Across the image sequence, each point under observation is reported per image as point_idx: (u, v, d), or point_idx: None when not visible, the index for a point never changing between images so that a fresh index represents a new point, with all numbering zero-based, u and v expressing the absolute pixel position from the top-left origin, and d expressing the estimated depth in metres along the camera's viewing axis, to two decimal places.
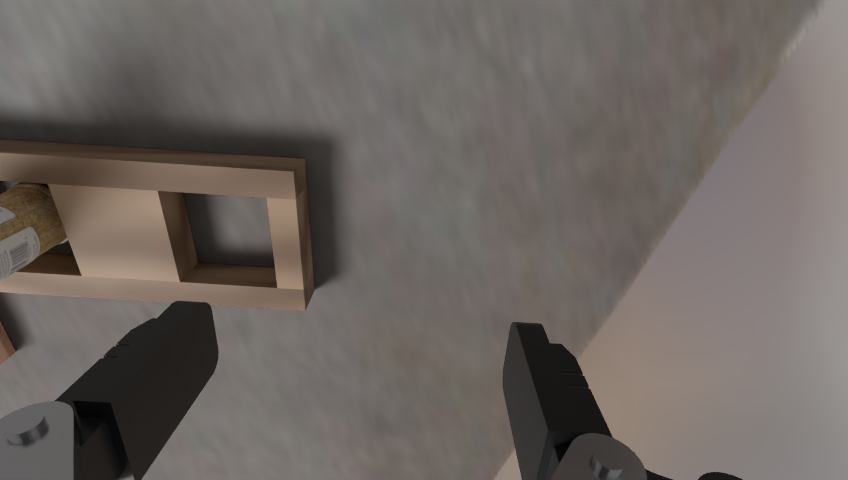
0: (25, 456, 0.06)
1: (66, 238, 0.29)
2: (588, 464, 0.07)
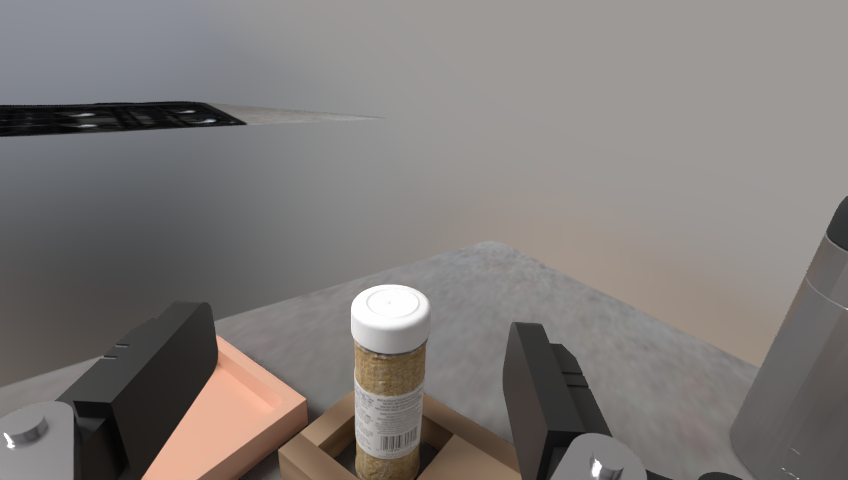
0: (24, 457, 0.06)
1: None
2: (588, 464, 0.07)
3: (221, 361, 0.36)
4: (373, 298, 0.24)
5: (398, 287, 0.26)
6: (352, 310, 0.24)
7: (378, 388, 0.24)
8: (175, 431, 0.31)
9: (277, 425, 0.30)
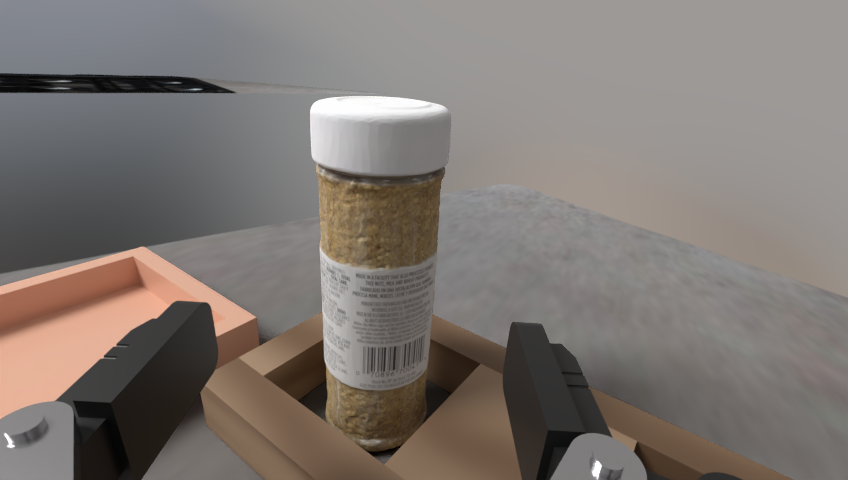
0: (25, 456, 0.06)
1: (379, 439, 0.17)
2: (588, 464, 0.07)
3: (146, 279, 0.26)
4: (350, 99, 0.14)
5: (394, 98, 0.15)
6: (311, 108, 0.13)
7: (357, 253, 0.14)
8: (53, 361, 0.20)
9: None
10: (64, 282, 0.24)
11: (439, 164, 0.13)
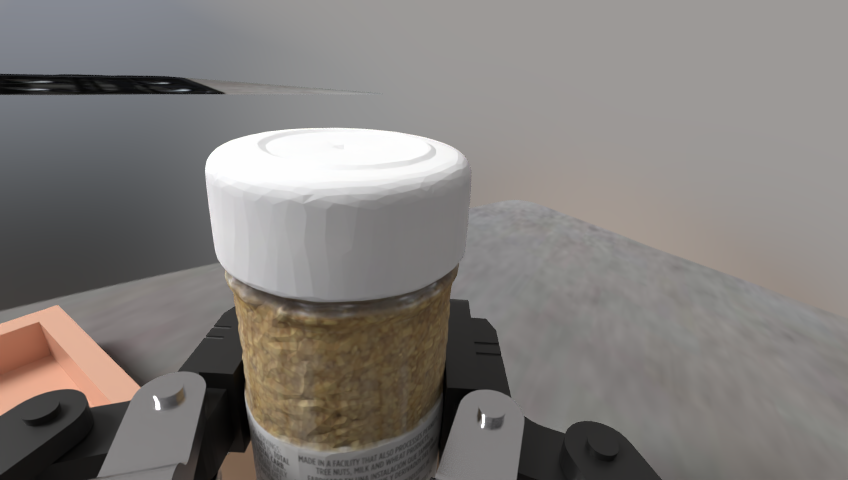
0: (161, 420, 0.07)
1: None
2: (473, 414, 0.08)
3: (55, 352, 0.20)
4: (289, 138, 0.08)
5: None
6: None
7: (299, 423, 0.07)
8: None
9: None
10: None
11: (451, 264, 0.07)
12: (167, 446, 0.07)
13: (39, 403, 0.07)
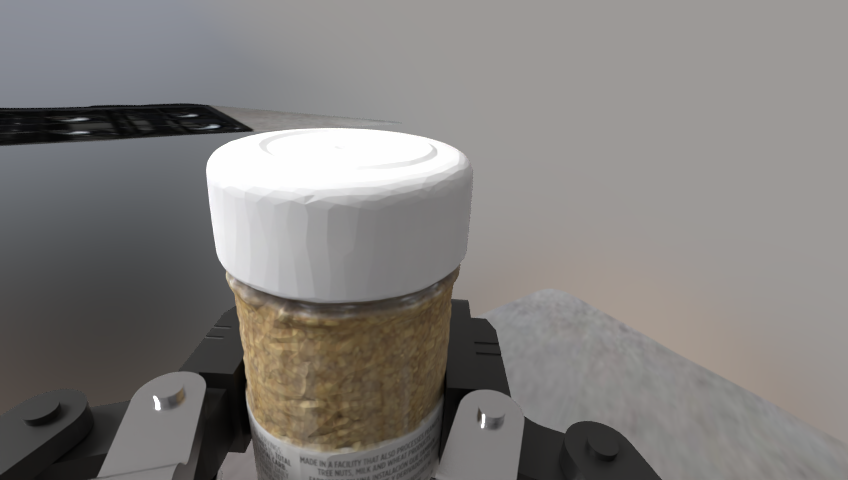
0: (161, 420, 0.07)
1: None
2: (473, 413, 0.08)
3: None
4: (290, 139, 0.08)
5: (373, 131, 0.09)
6: None
7: (300, 425, 0.07)
8: None
9: None
10: None
11: (452, 265, 0.07)
12: (167, 446, 0.07)
13: (39, 403, 0.07)
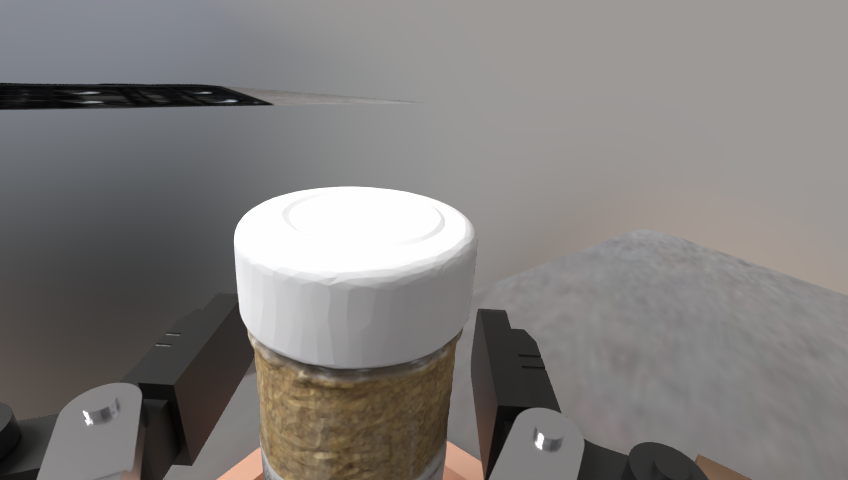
0: (96, 434, 0.07)
1: None
2: (530, 434, 0.07)
3: None
4: (309, 205, 0.08)
5: (384, 191, 0.10)
6: (236, 230, 0.08)
7: (314, 473, 0.08)
8: None
9: None
10: None
11: (458, 328, 0.08)
12: (88, 464, 0.06)
13: None
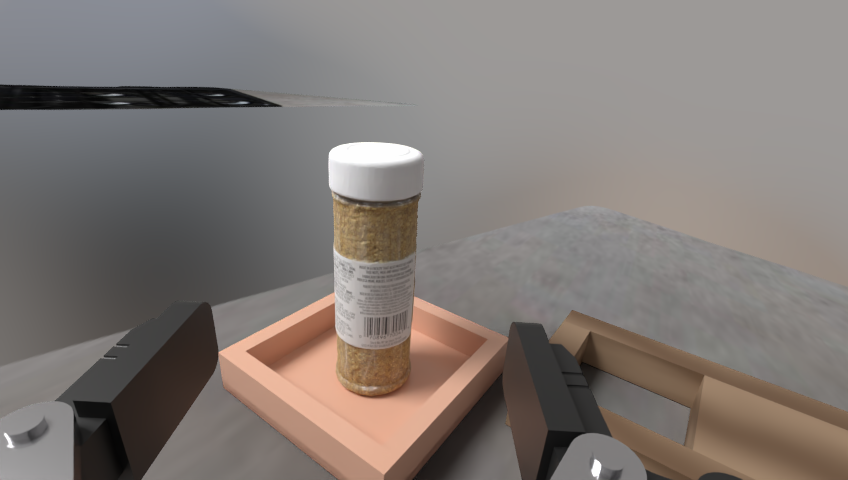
0: (25, 456, 0.06)
1: (375, 386, 0.24)
2: (588, 464, 0.07)
3: None
4: (355, 147, 0.21)
5: (385, 143, 0.22)
6: (330, 155, 0.20)
7: (360, 251, 0.20)
8: None
9: (489, 365, 0.25)
10: (332, 308, 0.29)
11: (415, 192, 0.20)
12: None
13: None
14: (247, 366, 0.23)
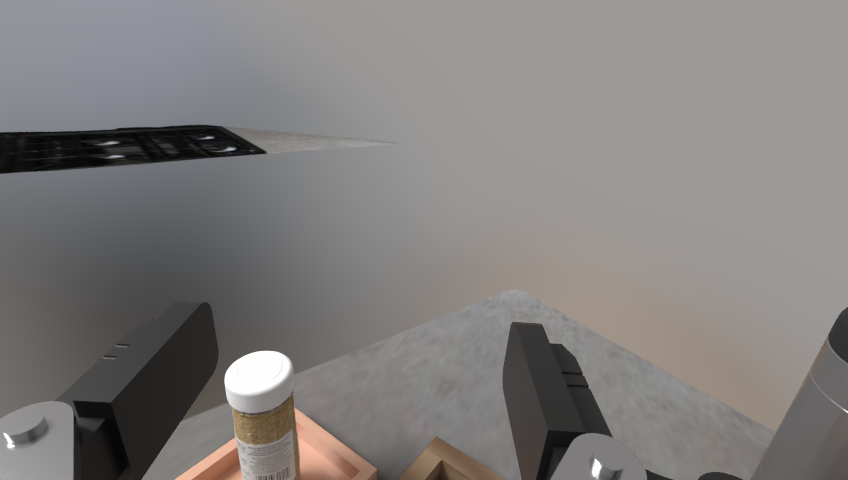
0: (25, 456, 0.06)
1: None
2: (588, 464, 0.07)
3: None
4: (245, 365, 0.30)
5: (271, 354, 0.32)
6: (225, 376, 0.30)
7: (247, 438, 0.30)
8: None
9: None
10: None
11: (283, 400, 0.30)
12: None
13: None
14: None
